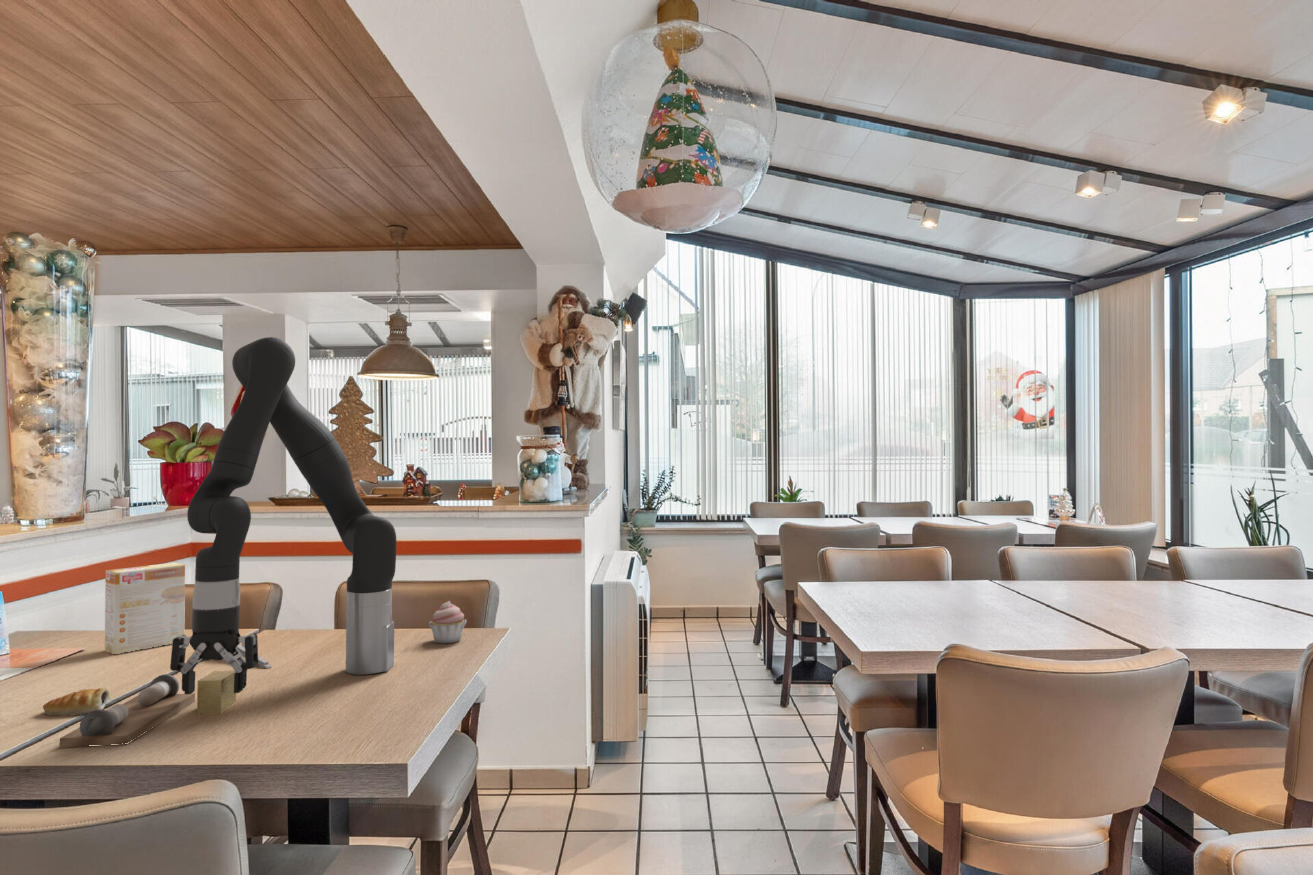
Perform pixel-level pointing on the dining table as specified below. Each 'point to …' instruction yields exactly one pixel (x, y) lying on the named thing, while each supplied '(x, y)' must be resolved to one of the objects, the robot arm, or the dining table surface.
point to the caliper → (261, 661)
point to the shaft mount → (130, 715)
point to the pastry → (78, 702)
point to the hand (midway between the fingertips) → (214, 692)
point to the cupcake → (447, 624)
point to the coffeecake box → (144, 607)
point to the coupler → (215, 692)
